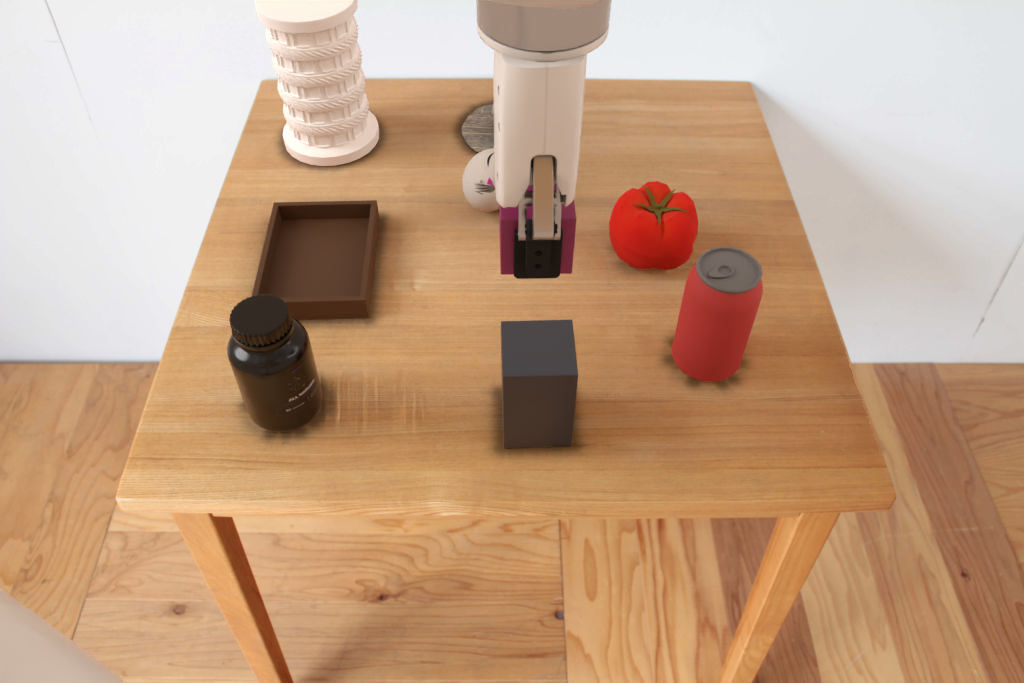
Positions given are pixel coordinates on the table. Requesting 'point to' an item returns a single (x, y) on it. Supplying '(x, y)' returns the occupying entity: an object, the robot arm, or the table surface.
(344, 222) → the tray
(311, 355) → the supplement bottle
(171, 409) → the table surface
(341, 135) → the white tower model
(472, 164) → the figurine
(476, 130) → the sculpture
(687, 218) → the tomato
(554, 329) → the bottom block
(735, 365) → the beer can
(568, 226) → the top block
